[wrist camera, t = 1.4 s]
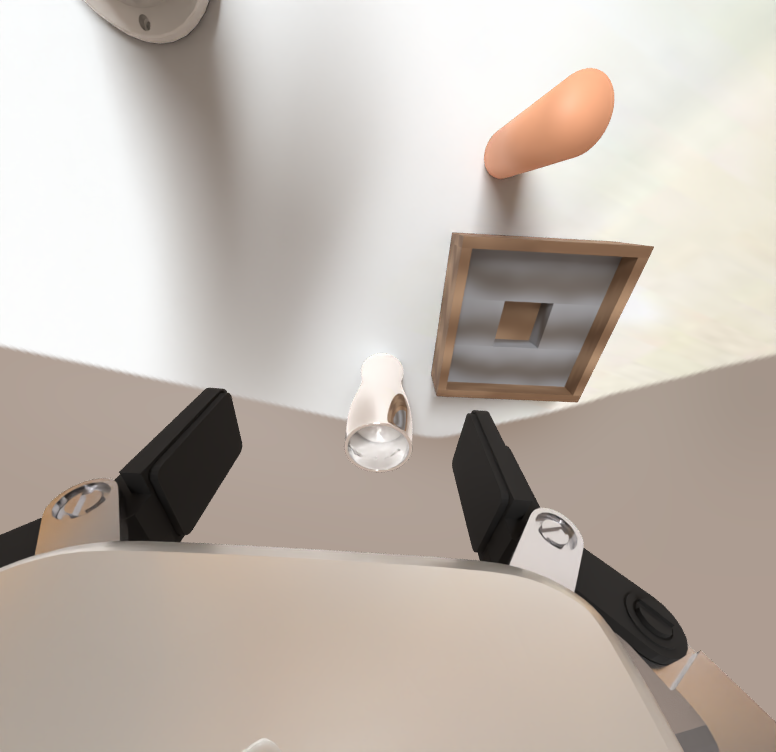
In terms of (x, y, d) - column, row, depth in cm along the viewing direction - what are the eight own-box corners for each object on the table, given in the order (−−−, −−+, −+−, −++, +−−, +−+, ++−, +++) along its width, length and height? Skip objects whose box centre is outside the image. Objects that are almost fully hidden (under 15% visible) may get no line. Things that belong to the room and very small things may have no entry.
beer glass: (398, 343, 37) (403, 413, 24) (412, 385, 40) (422, 466, 27) (350, 357, 38) (330, 431, 25) (367, 396, 41) (356, 479, 29)
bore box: (452, 232, 30) (463, 236, 25) (613, 241, 31) (654, 246, 26) (431, 374, 39) (436, 396, 35) (555, 379, 40) (577, 402, 35)
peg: (489, 125, 26) (556, 65, 15) (531, 127, 26) (627, 70, 15) (480, 177, 28) (534, 156, 17) (519, 180, 28) (596, 160, 17)
